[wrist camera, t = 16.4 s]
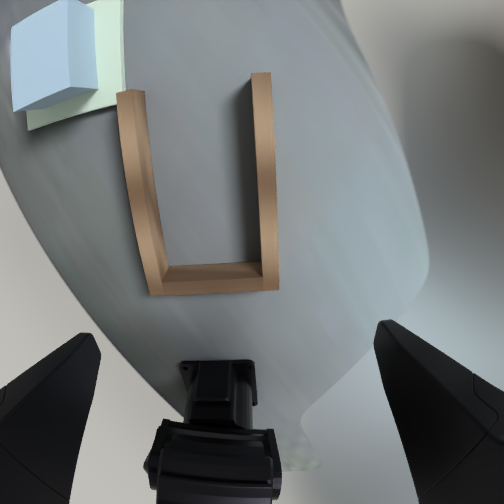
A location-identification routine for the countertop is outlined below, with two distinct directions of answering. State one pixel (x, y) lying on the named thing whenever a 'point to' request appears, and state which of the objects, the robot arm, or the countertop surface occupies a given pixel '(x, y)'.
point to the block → (53, 56)
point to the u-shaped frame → (147, 213)
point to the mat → (108, 69)
